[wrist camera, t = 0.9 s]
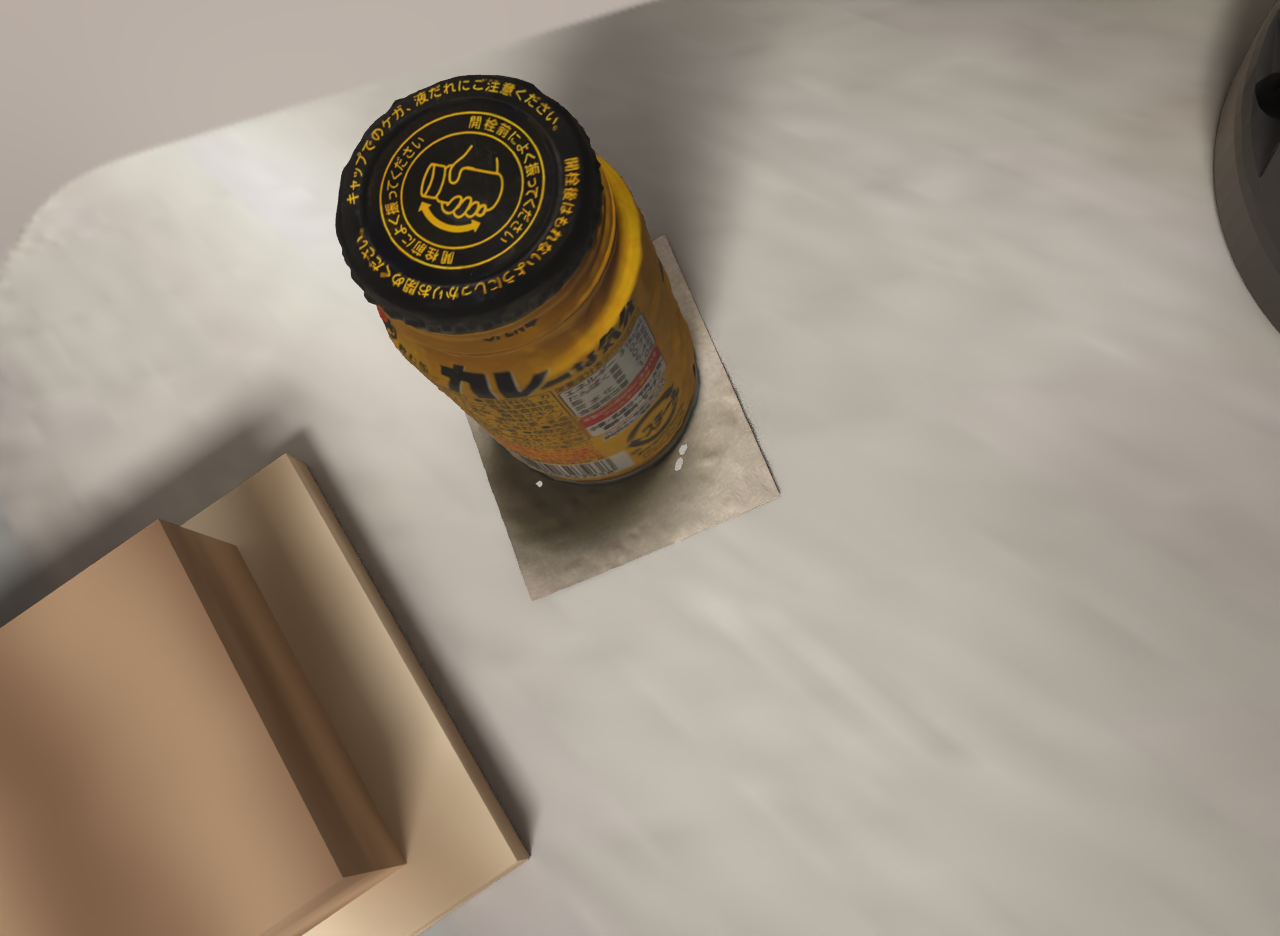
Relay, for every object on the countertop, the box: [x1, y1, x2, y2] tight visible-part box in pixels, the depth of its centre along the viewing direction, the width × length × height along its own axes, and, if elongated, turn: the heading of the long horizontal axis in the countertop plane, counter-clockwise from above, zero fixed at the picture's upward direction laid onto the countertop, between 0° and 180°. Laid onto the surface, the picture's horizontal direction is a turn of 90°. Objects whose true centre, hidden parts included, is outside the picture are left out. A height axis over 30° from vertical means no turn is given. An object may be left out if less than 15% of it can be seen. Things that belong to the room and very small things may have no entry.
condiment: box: [335, 75, 780, 601], centre depth 28 cm, size 7×8×12 cm
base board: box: [0, 453, 530, 936], centre depth 30 cm, size 16×13×5 cm
